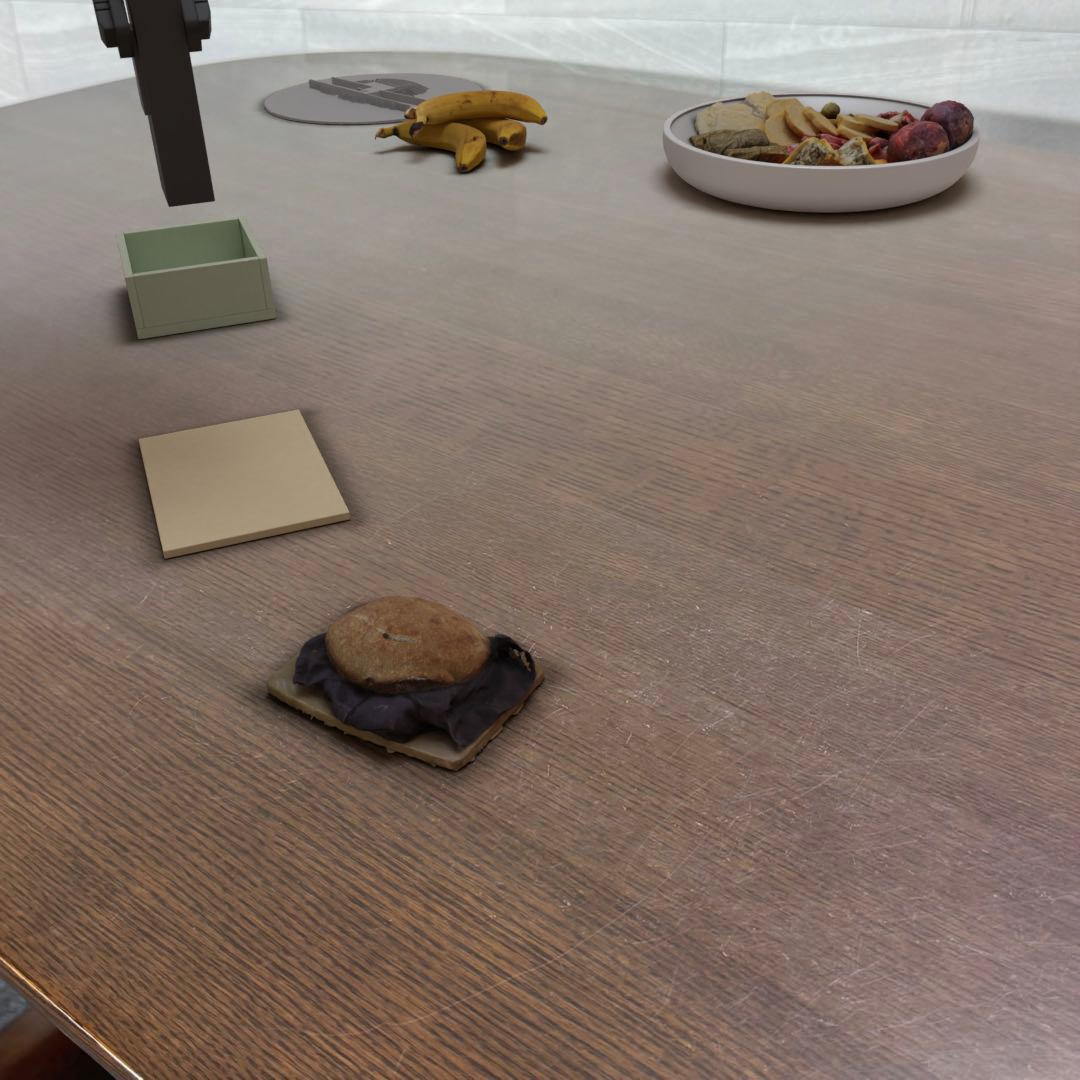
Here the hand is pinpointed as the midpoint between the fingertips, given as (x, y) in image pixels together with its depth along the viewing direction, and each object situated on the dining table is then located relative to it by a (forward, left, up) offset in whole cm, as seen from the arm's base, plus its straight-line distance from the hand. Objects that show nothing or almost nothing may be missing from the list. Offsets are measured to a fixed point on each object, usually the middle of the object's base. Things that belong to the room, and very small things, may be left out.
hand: (160, 43), depth 59 cm
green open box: (+16, +24, -24) cm, 37 cm away
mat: (-1, -1, -24) cm, 24 cm away
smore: (-9, -22, -24) cm, 34 cm away
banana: (+61, +36, -24) cm, 75 cm away
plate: (+76, +64, -24) cm, 102 cm away
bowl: (+73, 0, -24) cm, 77 cm away
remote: (+1, +2, -8) cm, 8 cm away
